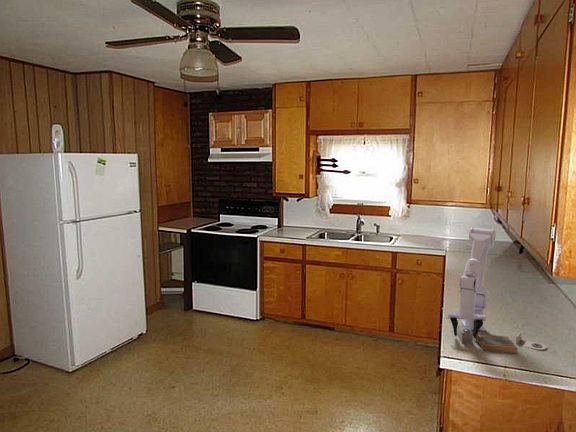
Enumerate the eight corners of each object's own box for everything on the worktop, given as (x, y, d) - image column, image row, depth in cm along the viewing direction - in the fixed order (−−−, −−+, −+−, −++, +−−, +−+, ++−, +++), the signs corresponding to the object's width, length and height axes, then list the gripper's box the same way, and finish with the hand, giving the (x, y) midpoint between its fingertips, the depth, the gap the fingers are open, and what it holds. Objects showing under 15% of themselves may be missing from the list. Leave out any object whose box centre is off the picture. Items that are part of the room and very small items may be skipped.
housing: (457, 335, 173) (458, 324, 173) (467, 335, 173) (468, 324, 172) (461, 343, 166) (462, 332, 165) (472, 344, 165) (473, 332, 164)
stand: (476, 339, 169) (477, 333, 169) (507, 341, 167) (508, 336, 167) (483, 350, 160) (484, 344, 159) (517, 353, 158) (517, 347, 157)
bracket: (544, 353, 159) (545, 344, 158) (515, 345, 165) (516, 336, 165) (548, 347, 163) (548, 339, 163) (519, 339, 170) (520, 331, 170)
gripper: (450, 306, 164) (448, 338, 166) (489, 309, 162) (486, 341, 164) (447, 300, 171) (444, 331, 173) (483, 303, 169) (481, 334, 171)
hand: (464, 335), depth 169 cm, fingers open, 7 cm apart
